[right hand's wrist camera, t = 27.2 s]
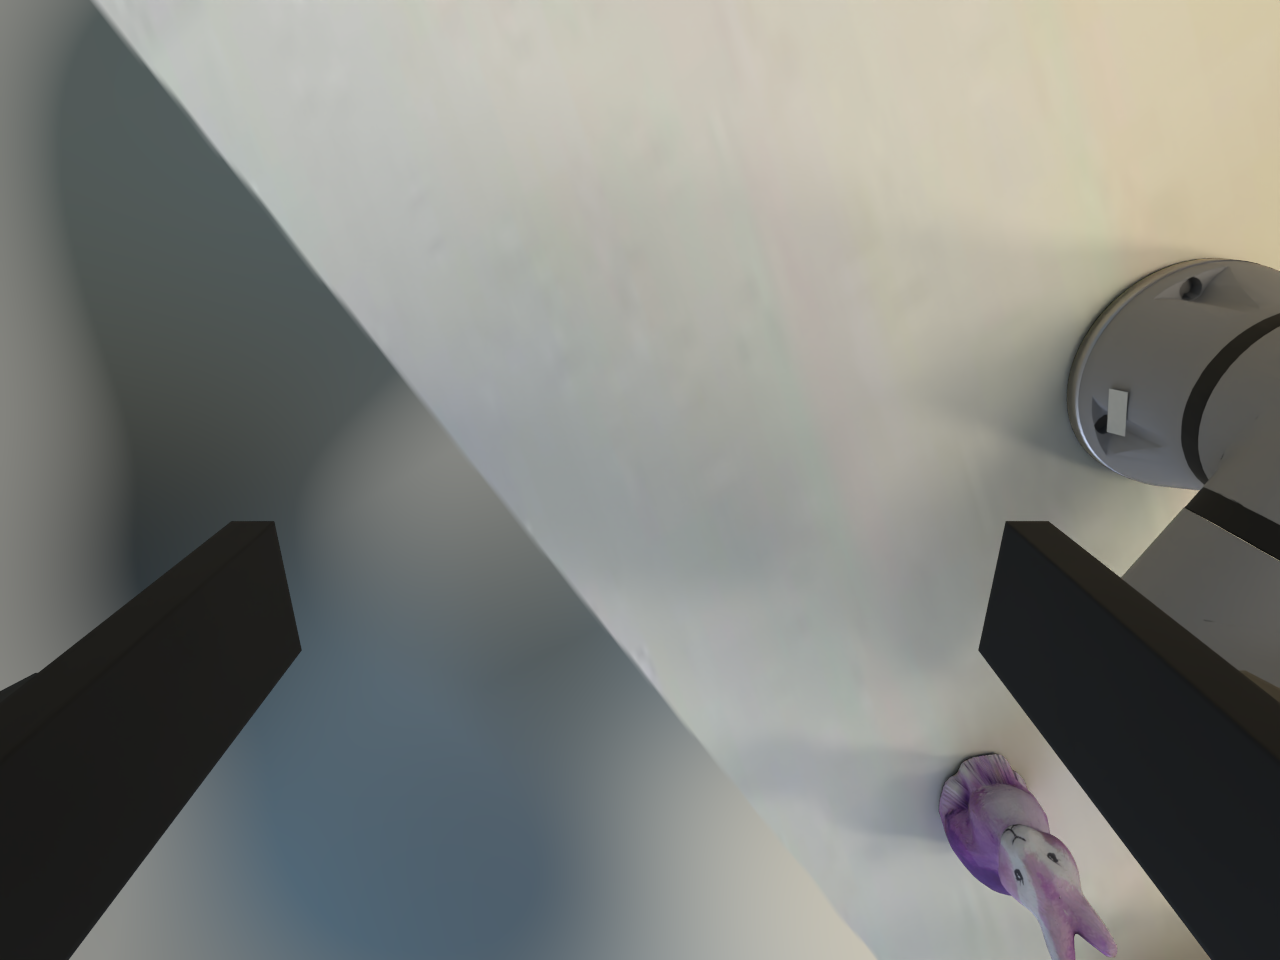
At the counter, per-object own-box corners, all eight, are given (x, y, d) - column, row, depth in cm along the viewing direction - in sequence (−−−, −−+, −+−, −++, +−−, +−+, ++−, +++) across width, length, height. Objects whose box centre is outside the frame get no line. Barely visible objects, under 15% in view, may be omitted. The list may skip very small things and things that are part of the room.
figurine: (971, 733, 60) (1072, 895, 46) (1058, 783, 62) (1179, 952, 48) (898, 803, 63) (973, 975, 49) (983, 849, 65) (1078, 1027, 51)
